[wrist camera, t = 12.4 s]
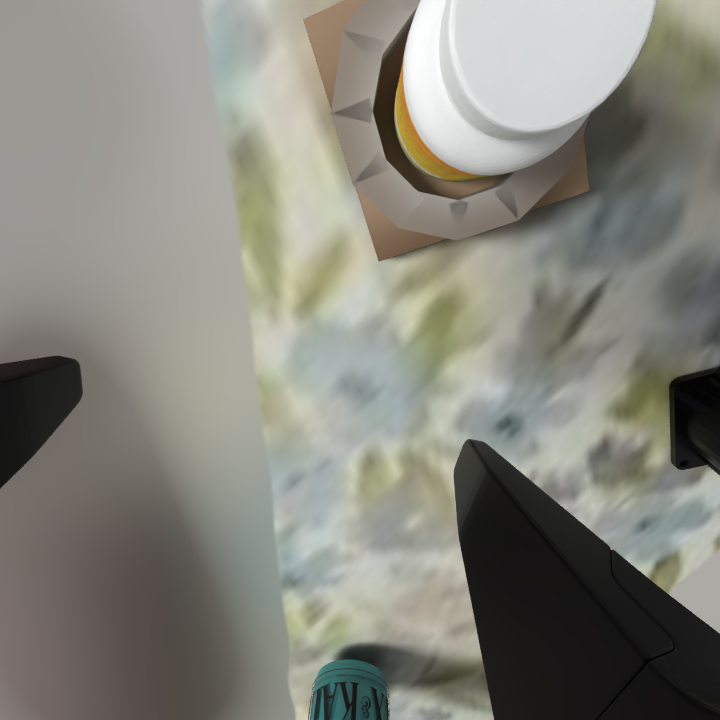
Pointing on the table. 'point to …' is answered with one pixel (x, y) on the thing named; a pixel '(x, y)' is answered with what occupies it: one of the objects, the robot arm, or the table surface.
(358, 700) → the beverage bottle
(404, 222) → the collar block
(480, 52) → the supplement bottle
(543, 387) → the table surface
